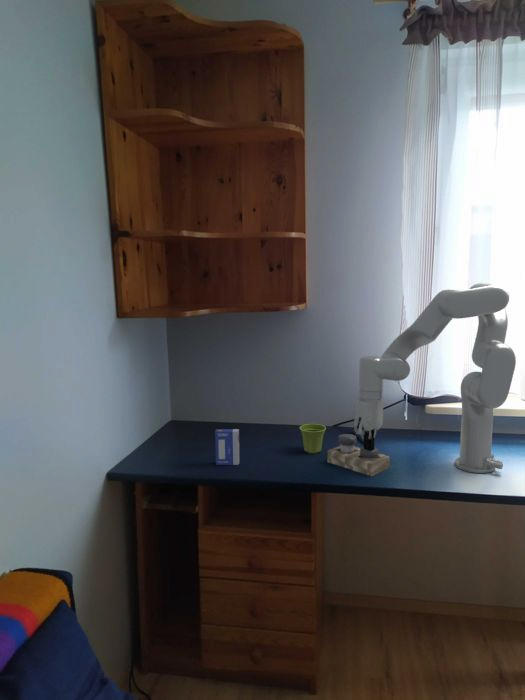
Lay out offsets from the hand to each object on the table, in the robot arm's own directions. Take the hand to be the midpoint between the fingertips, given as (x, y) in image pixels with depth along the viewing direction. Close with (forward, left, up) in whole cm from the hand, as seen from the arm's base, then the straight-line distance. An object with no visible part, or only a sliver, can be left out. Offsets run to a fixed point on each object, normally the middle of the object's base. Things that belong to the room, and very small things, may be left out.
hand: (368, 449), depth 174 cm
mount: (+4, 0, -7) cm, 8 cm away
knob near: (0, 0, -6) cm, 6 cm away
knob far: (+9, 0, -4) cm, 10 cm away
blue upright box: (+36, +30, -7) cm, 48 cm away
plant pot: (+24, 0, -7) cm, 25 cm away
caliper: (+18, -22, -7) cm, 30 cm away
